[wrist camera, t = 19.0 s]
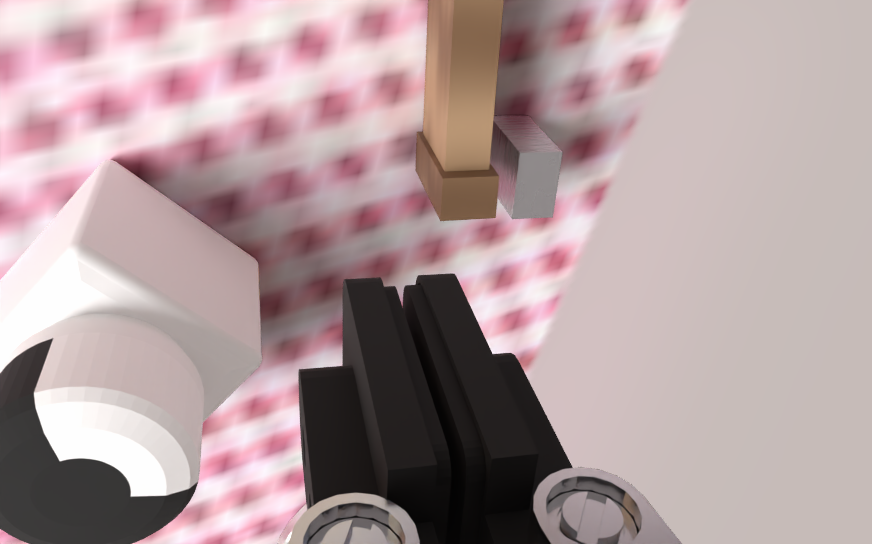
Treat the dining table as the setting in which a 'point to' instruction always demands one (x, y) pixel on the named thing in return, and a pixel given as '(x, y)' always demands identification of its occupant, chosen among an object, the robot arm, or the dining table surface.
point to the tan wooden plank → (460, 108)
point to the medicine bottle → (117, 362)
